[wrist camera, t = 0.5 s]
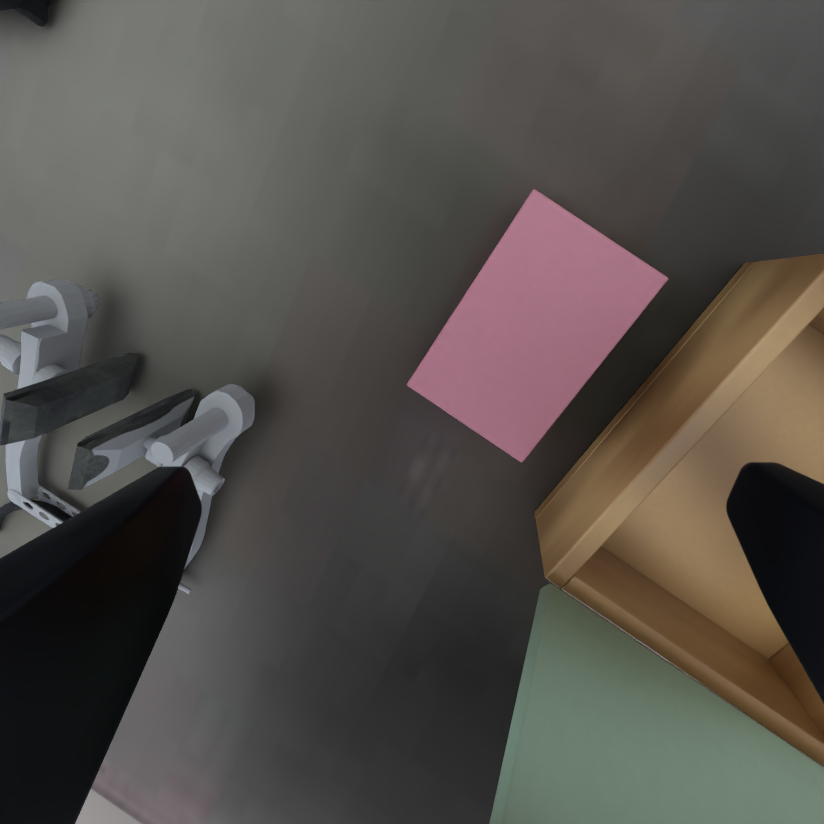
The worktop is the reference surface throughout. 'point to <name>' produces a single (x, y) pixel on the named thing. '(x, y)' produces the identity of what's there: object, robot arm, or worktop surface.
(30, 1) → the gaming controller
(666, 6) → the worktop surface
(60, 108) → the worktop surface
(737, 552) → the box
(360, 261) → the worktop surface
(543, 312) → the pink rectangular block
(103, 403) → the bike brake
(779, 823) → the lid
